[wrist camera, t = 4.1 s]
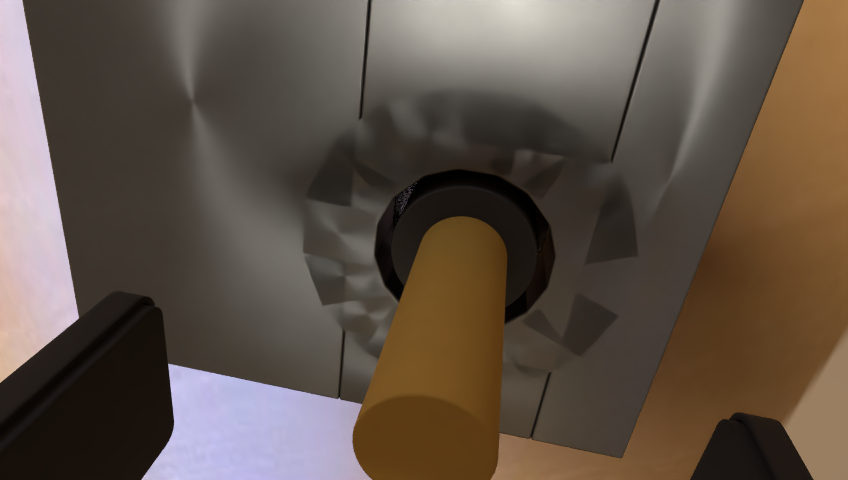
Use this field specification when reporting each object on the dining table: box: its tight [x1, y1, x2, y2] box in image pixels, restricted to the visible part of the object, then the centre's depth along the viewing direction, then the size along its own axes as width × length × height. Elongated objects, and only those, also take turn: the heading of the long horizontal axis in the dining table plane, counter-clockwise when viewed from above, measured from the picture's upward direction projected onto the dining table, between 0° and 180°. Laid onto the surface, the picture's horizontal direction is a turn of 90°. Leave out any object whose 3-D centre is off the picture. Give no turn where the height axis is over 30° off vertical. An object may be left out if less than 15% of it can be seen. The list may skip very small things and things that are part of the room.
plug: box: [353, 169, 537, 480], centre depth 13 cm, size 4×4×10 cm
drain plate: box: [23, 0, 804, 458], centre depth 15 cm, size 18×18×2 cm
